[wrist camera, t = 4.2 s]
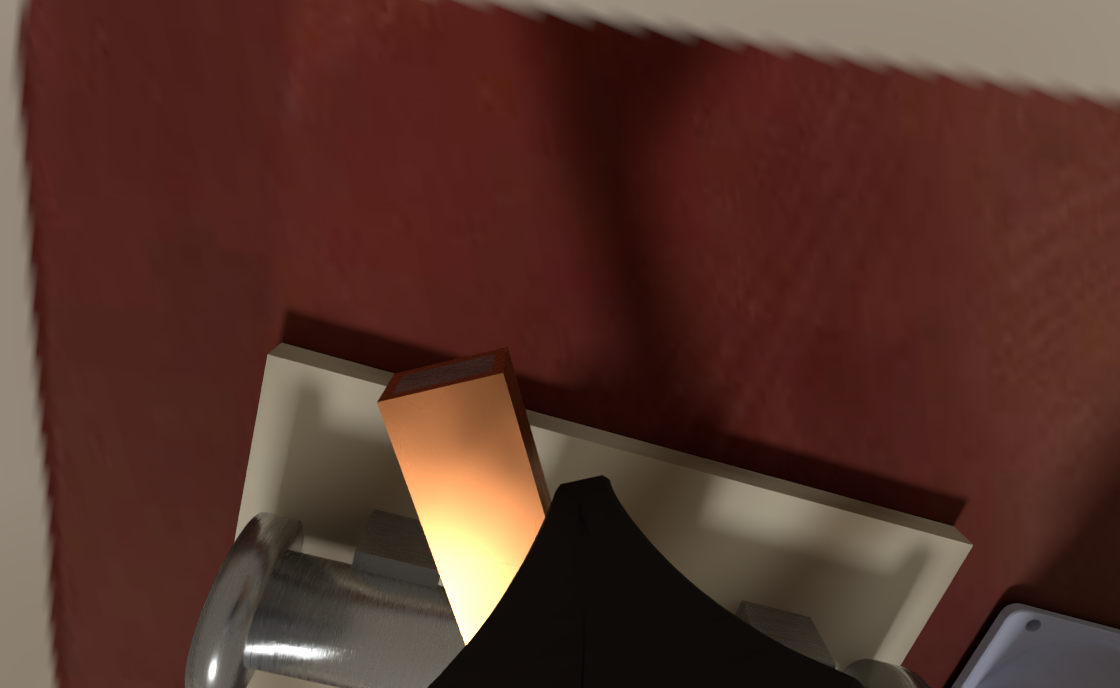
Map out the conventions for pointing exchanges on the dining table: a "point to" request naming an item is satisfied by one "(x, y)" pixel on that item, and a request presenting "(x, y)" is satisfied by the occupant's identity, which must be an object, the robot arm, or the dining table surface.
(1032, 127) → the dining table surface
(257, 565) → the ball valve
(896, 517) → the board
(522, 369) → the dining table surface
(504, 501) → the valve lever
